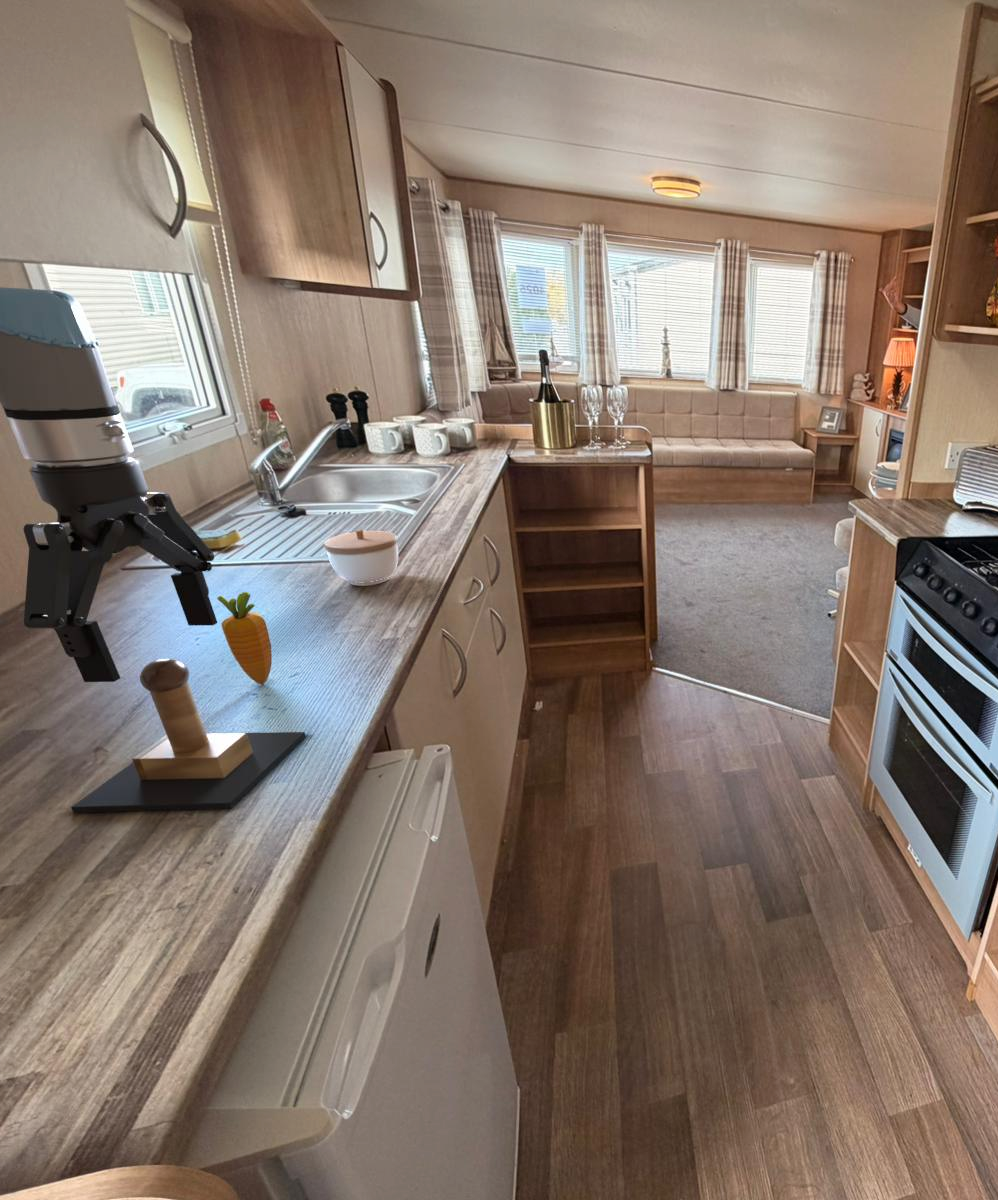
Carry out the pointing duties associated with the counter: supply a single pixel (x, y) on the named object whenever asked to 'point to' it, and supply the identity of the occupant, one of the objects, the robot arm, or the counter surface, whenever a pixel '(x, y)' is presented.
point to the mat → (191, 782)
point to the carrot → (248, 638)
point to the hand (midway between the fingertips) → (157, 650)
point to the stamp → (184, 731)
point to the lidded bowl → (363, 556)
